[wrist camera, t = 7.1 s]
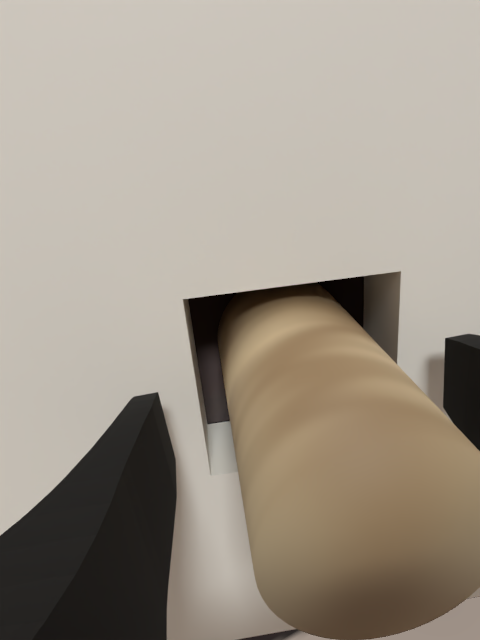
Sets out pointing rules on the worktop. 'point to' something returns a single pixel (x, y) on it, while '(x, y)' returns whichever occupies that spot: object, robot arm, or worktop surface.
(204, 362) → the worktop surface
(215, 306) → the worktop surface
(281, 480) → the maple dowel
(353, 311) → the worktop surface
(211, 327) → the worktop surface
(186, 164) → the holder board
